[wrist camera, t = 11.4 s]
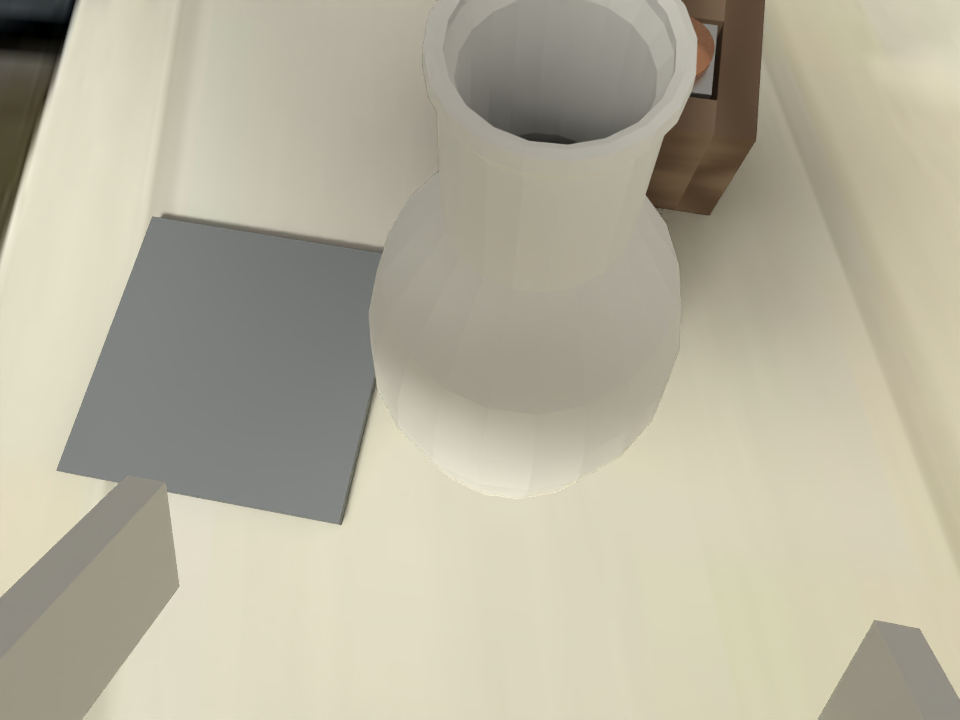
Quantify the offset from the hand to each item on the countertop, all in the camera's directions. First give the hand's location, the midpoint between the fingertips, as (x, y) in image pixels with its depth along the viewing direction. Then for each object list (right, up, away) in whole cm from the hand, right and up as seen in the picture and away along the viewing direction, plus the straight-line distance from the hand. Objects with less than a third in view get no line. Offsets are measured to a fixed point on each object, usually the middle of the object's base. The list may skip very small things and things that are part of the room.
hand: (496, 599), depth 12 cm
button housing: (+10, +18, +27) cm, 34 cm away
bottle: (+1, +2, +23) cm, 23 cm away
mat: (-13, +4, +23) cm, 27 cm away
